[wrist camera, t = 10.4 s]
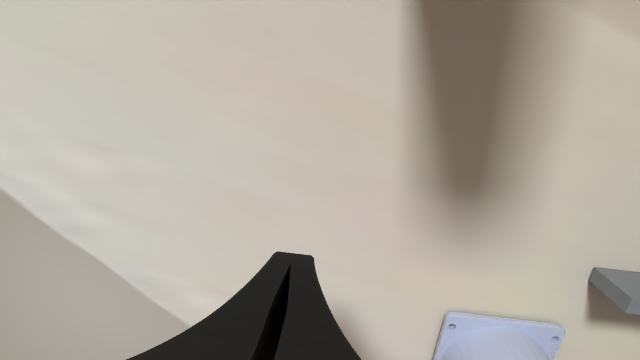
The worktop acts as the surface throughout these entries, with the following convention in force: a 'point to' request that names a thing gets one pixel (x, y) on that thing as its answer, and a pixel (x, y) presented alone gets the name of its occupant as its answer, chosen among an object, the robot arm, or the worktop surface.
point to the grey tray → (619, 287)
